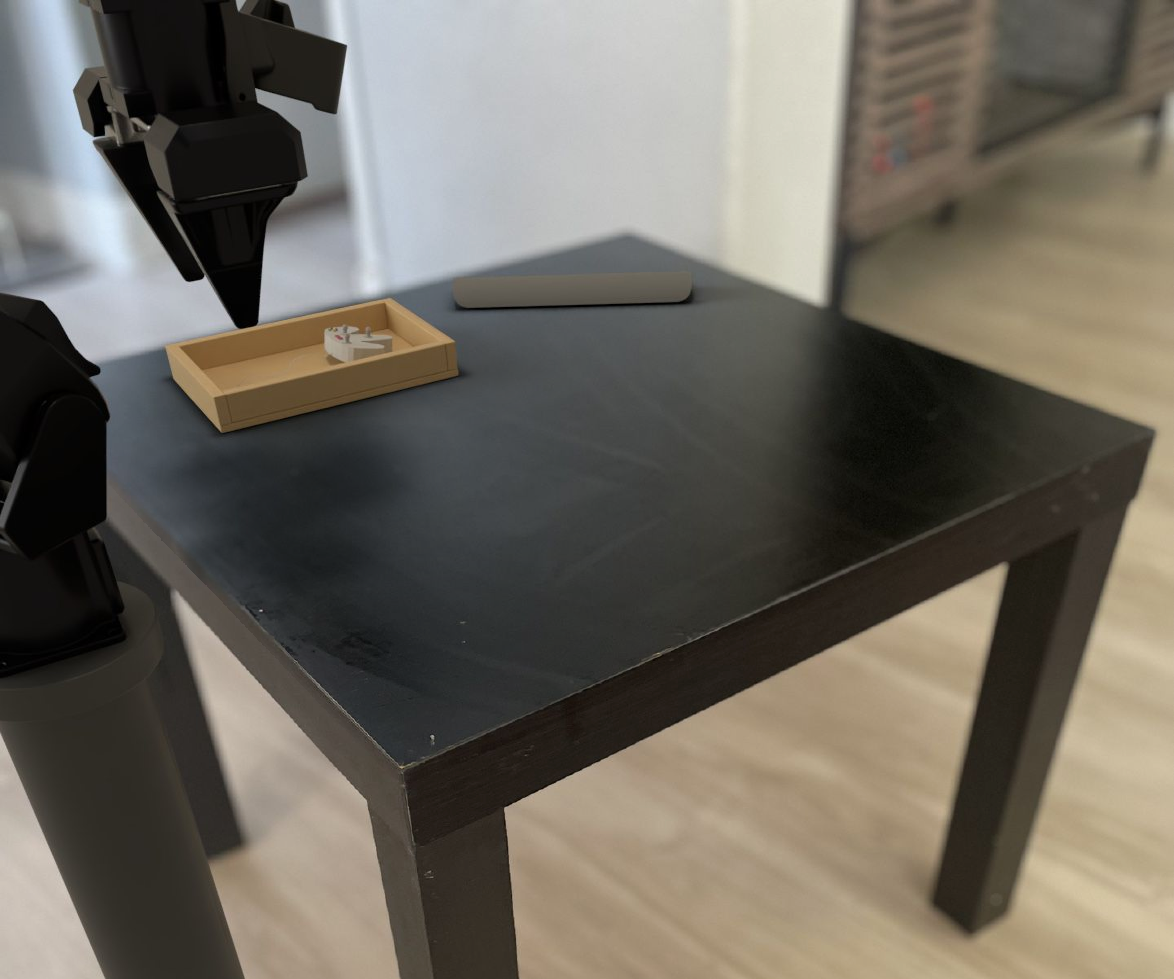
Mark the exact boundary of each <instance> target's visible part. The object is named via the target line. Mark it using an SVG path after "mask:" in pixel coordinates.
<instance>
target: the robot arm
mask: <svg viewBox="0 0 1174 979" xmlns="http://www.w3.org/2000/svg"><path fill="white" fill-rule="evenodd" d="M78 4H81V5H83V6H85V7H87V8H89V10H90V14H91V18H92V22H93V26H94V30H95V34H96V38H97V42H98V46H99V51H100V53H101V59H102V62H103V65H101V66H100V65H99V66H93V67H85V68H84V69H83V70H82V73H81V75H80V76H79V79H78V80H77V81H76V84H75V85H74V87H73V89H72V93H73V97H74V101H75V104H76V108H77V112H78V115H79V120H80V123H81V127H82V129H83V130H84V131H85V132H86V133H88V134H89V135H90V136H92V137H93V138H95V139H93V140H92V144H93V146H94V148H95V150H96V151H97V152H98V153H99V155H100V156H101V157H102V159H103V160H104V163H105V164H106V165H107V166H108V168H109V169H110V171H111V172H112V174H113V175H114V177H115V178H116V180H117V181H118V183H119V185H120V186H121V187H122V189H123V190H124V192H125V194H126V195H127V197H128V198H129V199H130V201H131V202H132V204H133V205H134V208H136V210H137V211H138V212H139V214H140V216H141V217H142V219H143V220H144V221H145V223H146V224H147V227H149V229H150V231H151V232H152V234H153V236H154V237H155V238H156V240H157V241H158V243H159V245H160V246H161V247H162V249H163V250H164V252H165V253H166V255H167V256H168V258H169V259H170V261H171V263H172V264H173V266H174V268H176V270H177V272H178V273H179V274H180V277H182V279H183V280H184V281H185V282H187V283H193V282H198V281H202V280H203V279H204V278H206V279H207V281H208V283H209V285H210V287H211V289H212V290H213V292H214V293H215V295H216V297H217V298H218V300H219V302H220V303H221V306H222V307H223V308H224V310H225V312H226V314H227V315H228V316H229V318H230V320H231V322H232V323H233V325H234V326H235V327H236V328H237V330H240V329H245V328H250V327H255V326H258V324H259V320H260V307H261V291H262V278H263V264H264V251H265V241H266V234H267V226H268V221H269V219H270V217H271V215H272V214H273V213H274V212H275V210H276V209H277V208H278V207H279V205H280V204H281V203H282V202H283V200H284V199H285V198H288V197H291V196H293V195H294V194H295V192H296V190H297V188H298V186H299V182H302V181H303V180H305V179H306V178H308V177H309V174H308V169H307V162H306V156H305V150H304V145H303V144H304V143H303V138H302V132H301V131H300V130H299V129H298V128H297V127H296V126H294V125H293V123H291V122H290V121H289V120H287V119H286V118H285V117H284V116H283V115H281V114H280V113H279V112H278V111H276V110H275V109H272V108H270V107H268V106H266V105H264V104H261V103H259V101H258V96H257V91H256V90H260V91H261V92H262V91H263V92H265V93H266V92H267V93H270V94H273V95H276V96H280V97H284V98H288V99H291V100H295V101H299V102H303V103H305V104H310V105H312V107H313V108H314V110H316V111H319V112H322V113H327V114H331V115H337V114H338V109H339V102H340V97H341V90H342V83H343V77H344V71H345V64H346V57H347V50H348V44H346V43H342V42H339V41H337V40H334V39H331V38H327V37H325V36H322V35H319V34H316V33H314V32H313V33H312V32H309V31H306V30H304V29H299V28H296V26H295V22H294V18H293V14H292V10H291V7H290V5H289V4H288V3H286V2H283V1H279V0H245V1H244V2H243V4H242V5H241V8H240V9H238V4H237V0H78ZM106 134H107V136H106ZM101 372H102V370H101V367H100V366H99V365H97V364H95V363H93V362H92V361H91V360H88V359H87V358H86V357H85V356H83V354H82V353H81V352H80V351H79V350H78V349H77V348H76V347H75V345H74V343H73V342H72V341H71V339H70V337H69V336H68V334H67V332H66V330H65V328H64V327H63V325H62V323H61V321H60V319H59V317H58V316H57V315H56V314H55V312H53V311H52V309H51V308H50V307H49V306H48V305H47V304H46V303H45V302H44V301H43V300H40V299H37V298H31V297H25V296H21V295H17V294H16V295H15V294H11V293H6V292H0V678H4V677H8V676H11V675H14V674H18V673H21V672H24V671H28V670H31V669H34V668H38V667H41V666H44V665H48V664H51V663H54V662H58V661H61V660H64V659H68V658H71V657H74V656H78V655H81V654H84V653H88V652H91V651H94V650H98V649H101V648H104V647H108V646H111V645H114V644H118V643H121V642H123V641H124V640H126V638H127V634H126V631H125V628H124V626H123V625H122V623H121V621H120V619H119V617H118V616H117V614H121V613H123V611H124V609H125V606H124V603H123V600H122V597H121V594H120V591H119V587H118V584H117V579H116V575H115V571H114V569H113V565H112V562H111V559H110V556H109V553H108V550H107V546H106V543H105V541H104V539H103V537H102V536H101V534H100V532H99V530H98V529H97V528H96V526H98V525H101V524H102V523H104V522H105V521H106V520H107V517H108V484H107V483H108V476H107V475H108V470H107V469H108V468H107V467H108V466H107V465H108V464H107V462H108V461H107V459H108V456H107V455H108V454H107V442H108V440H107V437H108V435H107V433H108V431H107V430H108V428H107V426H108V423H109V421H110V419H111V412H110V409H109V405H108V403H107V399H106V398H105V396H104V395H103V392H101V390H100V388H99V386H98V384H97V383H96V382H95V381H94V379H92V377H96V376H99V375H100V374H101Z"/></svg>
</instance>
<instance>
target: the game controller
mask: <svg viewBox="0 0 1174 979" xmlns="http://www.w3.org/2000/svg"><path fill="white" fill-rule="evenodd" d="M370 333H371V328H370V327H367V328H366V334H359V329H358V328H356V327H350V326H347V325H345V324H344V325H343V326H342V327H330V328H327V329H325V346H324V347H325V350H326V351H327V352H328V353H329V354H328V355H332V356H333V357H335V358H336V359H339V360H341V361H343V362H350V361H355V360H359V359H363V358H368V357H372V356H376V355H381V354H385V353H389V352H392V343H393V337H392V336H389V335H372V334H370ZM308 355H313V354H308ZM304 356H306V355H304ZM325 356H327V355H325ZM301 357H303V356H301ZM320 357H324V356H320ZM298 358H300V357H298ZM298 358H296V359H298ZM296 359H295V360H296ZM293 361H294V360H293ZM293 361H292V362H293ZM292 362H291V363H292ZM291 363H290V364H291ZM290 364H289V365H290ZM289 368H290V367H289ZM289 368H288V369H289ZM288 369H287V370H288ZM287 370H286V371H287ZM286 371H285V372H286ZM283 373H284V372H283ZM281 374H282V373H281ZM278 375H280V374H278ZM278 375H276V376H278ZM254 376H257V375H254ZM251 377H253V376H251ZM272 377H274V376H272ZM249 378H250V377H249ZM246 379H248V378H246ZM246 379H244V380H246ZM244 380H243V381H244ZM243 381H241V382H243ZM241 382H240V383H241ZM240 383H239V384H240ZM238 386H239V385H238Z"/></svg>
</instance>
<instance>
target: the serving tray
mask: <svg viewBox="0 0 1174 979" xmlns="http://www.w3.org/2000/svg"><path fill="white" fill-rule="evenodd" d="M344 324H345V325H347V326H350V327H356V328H358V329H359V334H366V328H367V327H370V328H371V333H370V334H372V335H389V336H392V337H393V343H392V352H389V353H385V354H381V355H376V356H372V357H368V358H363V359H359V360H355V361H350V362H343V361H341V360H339V359H336V358H335V357H333V356H332V355H328V354H329V353H328V352H327V351H326V350H325V347H324V346H325V329H327V328H330V327H342V326H343V325H344ZM164 346H165V351H166V355H167V358H168V362H169V363H168V364H169V367H170V371H171V373H172V379H173V380H174V382H175V383H176V384H177V385H178V386H179V388H181V389H182V390H183V392H184V393H185V394H186V395H187V396H188V397H189V398H190V400H192V401H193V403H194V404H195V405H196V406H197V407H198V408H199V409H200V411H201V412H203V414H204V415H205V416H206V417H207V419H208V420H209V421H211V423H212V424H213V425H214V426H215V427H216V428H217V429H218V431H219V432H220V433H221V434H225V433H228V432H234V431H236V430H241V429H244V428H249V427H253V426H254V427H255V426H257V425H262V424H266V423H270V422H274V421H277V420H278V421H279V420H281V419H286V418H291V417H295V416H298V415H302V414H303V415H304V414H307V413H310V412H315V411H318V410H323V409H327V408H331V407H335V406H341V405H344V404H348V403H351V402H355V401H360V400H365V399H368V398H372V397H376V396H380V395H385V394H388V393H389V394H390V393H393V392H396V391H400V390H405V389H410V388H413V387H418V386H421V385H426V384H430V383H434V382H437V381H441V380H447V379H450V378H451V379H452V378H454V377H458V376H459V368H458V366H459V365H458V356H457V347H456V346H457V345H456V341H455V340H454V339H452V338H451V337H450V336H448V335H446V334H445V333H444V332H442V331H440V330H439V329H437V328H436V327H434V326H433V325H432V324H430V323H429V322H427V321H426V320H424V319H422V318H421V317H419V316H418V315H416V314H415V313H414V312H412V311H410V310H409V309H408V308H406V307H405V306H403V305H401V304H400V303H398V302H397V301H396V300H394V299H393V298H391V297H388V298H383V299H378V300H373V301H369V302H364V303H358V304H354V305H350V306H345V307H340V308H335V309H330V310H326V311H320V312H317V313H311V314H306V315H302V316H297V317H293V318H288V319H285V320H279V321H274V322H270V323H269V322H268V323H265V324H260V325H256V326H254V327H250V328H245V329H236V330H231V331H227V332H222V333H218V334H212V335H207V336H202V337H198V338H193V339H190V340H184V341H179V342H176V343H175V342H174V343H171V344H166V345H164ZM308 354H313V355H308ZM304 355H306V356H304ZM325 355H327V356H325ZM301 356H303V357H301ZM320 356H324V357H320ZM298 357H300V358H298ZM296 358H298V359H296ZM295 359H296V360H295ZM293 360H294V361H293ZM292 361H293V362H292ZM291 362H292V363H291ZM290 363H291V364H290ZM289 364H290V365H289ZM289 367H290V368H289ZM288 368H289V369H288ZM287 369H288V370H287ZM286 370H287V371H286ZM285 371H286V372H285ZM283 372H284V373H283ZM281 373H282V374H281ZM278 374H280V375H278ZM254 375H257V376H254ZM276 375H278V376H276ZM251 376H253V377H251ZM272 376H274V377H272ZM249 377H250V378H249ZM246 378H248V379H246ZM244 379H246V380H244ZM243 380H244V381H243ZM241 381H243V382H241ZM240 382H241V383H240ZM239 383H240V384H239ZM238 385H239V386H238Z"/></svg>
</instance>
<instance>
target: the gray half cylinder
mask: <svg viewBox="0 0 1174 979" xmlns="http://www.w3.org/2000/svg"><path fill="white" fill-rule="evenodd" d="M693 281H694V280H693V272H692V270H679V271H677V270H676V271H646V272H645V271H644V272H640V271H639V272H612V273H610V272H609V273H608V272H607V273H606V272H605V273H604V272H603V273H579V274H575V273H573V274H570V273H569V274H540V275H538V274H537V275H508V276H507V275H506V276H504V275H503V276H472V277H468V276H467V277H453V279H452V295H453V298H454V301H455V302H456V303H457V305H459V306H461V307H463V308H467V309H472V308H473V309H474V308H506V307H509V308H510V307H541V306H542V307H544V306H545V307H547V306H577V305H578V306H579V305H583V306H584V305H611V304H613V305H615V304H617V305H618V304H646V303H647V304H651V303H679V302H682V301H684V300H686V299H687V298H688V297H690V295H691V293H692V289H693Z"/></svg>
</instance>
